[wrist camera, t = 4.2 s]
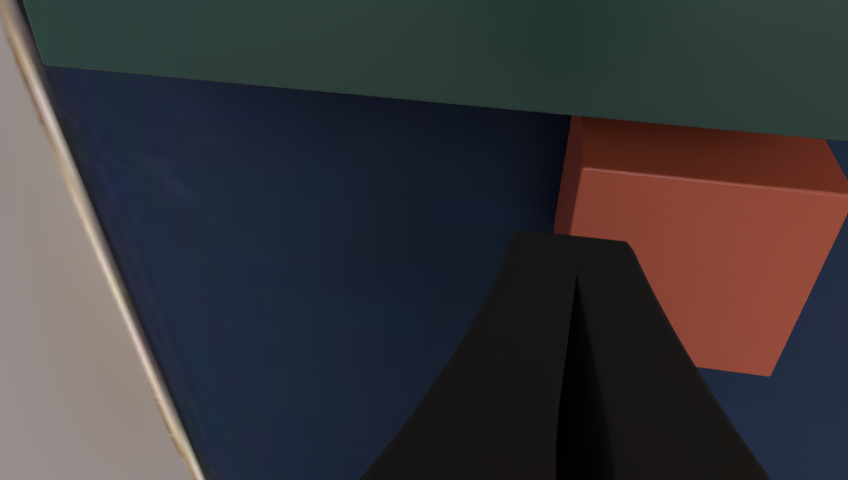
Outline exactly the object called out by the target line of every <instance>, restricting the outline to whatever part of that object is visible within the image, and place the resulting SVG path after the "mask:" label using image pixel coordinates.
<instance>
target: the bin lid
mask: <svg viewBox="0 0 848 480" xmlns="http://www.w3.org/2000/svg"><path fill="white" fill-rule="evenodd" d="M23 2H24V5H25V9H26V12H27V15H28V18H29V21H30V24H31V28H32V31H33V34H34V37H35V40H36V43H37V47H38V50H39V53H40V56H41V59H42V63H43V64H44V65H47V66H57V67H68V68H78V69H89V70H100V71H110V72H121V73H131V74H142V75H152V76H163V77H173V78H184V79H194V80H205V81H215V82H226V83H236V84H247V85H257V86H268V87H278V88H289V89H299V90H310V91H320V92H331V93H341V94H352V95H362V96H373V97H384V98H394V99H405V100H415V101H426V102H436V103H447V104H457V105H468V106H478V107H489V108H499V109H510V110H520V111H531V112H541V113H552V114H562V115H573V116H583V117H594V118H604V119H615V120H625V121H636V122H646V123H657V124H667V125H678V126H689V127H699V128H710V129H720V130H731V131H741V132H752V133H762V134H773V135H783V136H794V137H804V138H815V139H825V140H836V141H846V142H848V0H23Z"/></svg>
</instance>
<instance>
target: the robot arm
mask: <svg viewBox="0 0 848 480" xmlns="http://www.w3.org/2000/svg"><path fill="white" fill-rule="evenodd" d="M360 480H771V479H770V478H769V476H768V475H767V473H766V472H765V471H764V469H763V468H762V467H761V465H760V464H759V462H758V461H757V459H756V458H755V456H754V455H753V454H752V452H751V451H750V449H749V448H748V446H747V445H746V443H745V442H744V441H743V439H742V438H741V436H740V435H739V433H738V432H737V430H736V429H735V428H734V426H733V425H732V423H731V422H730V420H729V419H728V417H727V416H726V414H725V412H724V411H723V409H722V408H721V406H720V405H719V403H718V402H717V400H716V399H715V397H714V396H713V394H712V392H711V391H710V389H709V387H708V386H707V384H706V383H705V381H704V379H703V378H702V376H701V374H700V373H699V371H698V369H697V368H696V366H695V364H694V363H693V361H692V360H691V358H690V356H689V355H688V353H687V351H686V350H685V348H684V346H683V345H682V343H681V341H680V339H679V338H678V336H677V334H676V332H675V331H674V329H673V327H672V325H671V323H670V322H669V320H668V318H667V316H666V314H665V312H664V310H663V309H662V307H661V305H660V303H659V301H658V299H657V297H656V295H655V293H654V292H653V290H652V288H651V286H650V284H649V282H648V280H647V278H646V276H645V273H644V271H643V269H642V267H641V265H640V263H639V261H638V259H637V256H636V254H635V252H634V250H633V249H632V248H631V246H630V245H629V244H628V243H627V241H618V240H609V239H600V238H591V237H582V236H573V235H564V234H555V233H546V232H537V231H528V230H520V231H519V232H517V233H516V234H514V235H512V236H511V238H510V243H509V247H508V250H507V253H506V256H505V259H504V261H503V264H502V266H501V269H500V271H499V273H498V276H497V278H496V280H495V282H494V284H493V286H492V288H491V290H490V292H489V294H488V296H487V298H486V300H485V302H484V304H483V306H482V307H481V309H480V311H479V312H478V314H477V316H476V318H475V319H474V321H473V323H472V324H471V326H470V328H469V329H468V331H467V333H466V335H465V336H464V338H463V340H462V341H461V343H460V345H459V346H458V348H457V350H456V351H455V353H454V354H453V356H452V357H451V359H450V360H449V362H448V363H447V365H446V366H445V368H444V369H443V371H442V372H441V373H440V375H439V376H438V378H437V379H436V381H435V382H434V384H433V385H432V386H431V388H430V389H429V391H428V392H427V394H426V395H425V397H424V398H423V400H422V401H421V402H420V404H419V405H418V407H417V408H416V409H415V411H414V412H413V414H412V415H411V416H410V417H409V419H408V420H407V421H406V423H405V424H404V425H403V427H402V428H401V429H400V431H399V432H398V433H397V435H396V436H395V437H394V438H393V440H392V441H391V442H390V443H389V445H388V446H387V447H386V448H385V450H384V451H383V452H382V453H381V455H380V456H379V457H378V458H377V459H376V461H375V462H374V463H373V464H372V465H371V467H370V468H369V469H368V470H367V471H366V473H365V474H364V475H363V476H362V478H361V479H360Z"/></svg>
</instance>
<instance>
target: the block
mask: <svg viewBox="0 0 848 480" xmlns="http://www.w3.org/2000/svg"><path fill="white" fill-rule="evenodd" d="M847 214H848V181H847V179H846V177H845V175H844V173H843V171H842V170H841V168H840V166H839V164H838V162H837V160H836V159H835V157H834V155H833V153H832V151H831V150H830V148H829V146H828V144H827V142H826V140H825V139H815V138H804V137H794V136H783V135H773V134H762V133H752V132H741V131H731V130H720V129H710V128H699V127H689V126H678V125H667V124H657V123H646V122H636V121H625V120H615V119H604V118H594V117H583V116H573V115H572V117H571V124H570V130H569V136H568V142H567V148H566V154H565V160H564V166H563V172H562V179H561V185H560V191H559V197H558V203H557V209H556V215H555V221H554V233H555V234H564V235H573V236H582V237H591V238H600V239H609V240H618V241H627V243H628V244H629V245H630V246H631V248H632V249H633V250H634V252H635V254H636V256H637V259H638V261H639V263H640V265H641V267H642V269H643V271H644V273H645V276H646V278H647V280H648V282H649V284H650V286H651V288H652V290H653V292H654V293H655V295H656V297H657V299H658V301H659V303H660V305H661V307H662V309H663V310H664V312H665V314H666V316H667V318H668V320H669V322H670V323H671V325H672V327H673V329H674V331H675V332H676V334H677V336H678V338H679V339H680V341H681V343H682V345H683V346H684V348H685V350H686V351H687V353H688V355H689V356H690V358H691V360H692V361H693V363H694V364H695V366H696V367H702V368H709V369H717V370H724V371H731V372H739V373H746V374H754V375H761V376H770V375H771V374H772V372H773V370H774V367H775V365H776V363H777V361H778V359H779V357H780V355H781V353H782V351H783V349H784V346H785V344H786V342H787V340H788V338H789V336H790V334H791V332H792V330H793V328H794V325H795V323H796V321H797V319H798V317H799V315H800V313H801V311H802V309H803V307H804V304H805V302H806V300H807V298H808V296H809V294H810V292H811V290H812V288H813V286H814V283H815V281H816V279H817V277H818V275H819V273H820V271H821V269H822V267H823V264H824V262H825V260H826V258H827V256H828V254H829V252H830V250H831V248H832V246H833V243H834V241H835V239H836V237H837V235H838V233H839V231H840V229H841V227H842V225H843V222H844V220H845V218H846V216H847Z"/></svg>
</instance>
